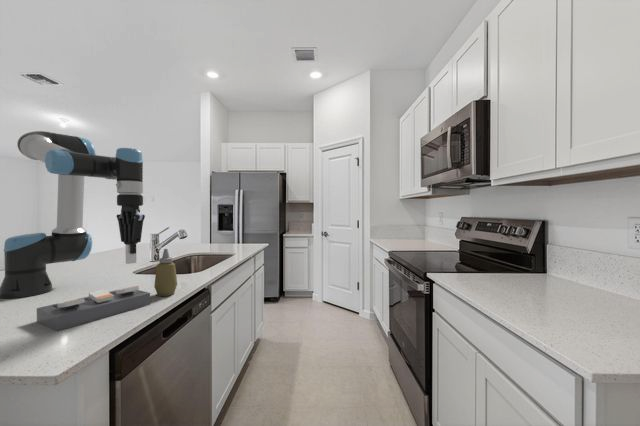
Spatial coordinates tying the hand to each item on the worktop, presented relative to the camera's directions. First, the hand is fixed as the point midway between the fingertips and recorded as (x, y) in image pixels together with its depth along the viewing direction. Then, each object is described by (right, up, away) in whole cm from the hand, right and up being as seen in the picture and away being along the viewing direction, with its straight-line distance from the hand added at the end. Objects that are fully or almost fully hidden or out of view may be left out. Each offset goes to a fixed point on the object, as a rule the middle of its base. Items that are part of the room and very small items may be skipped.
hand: (131, 263), depth 101 cm
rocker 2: (-2, -10, +1) cm, 10 cm away
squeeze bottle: (+4, -15, +15) cm, 22 cm away
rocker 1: (-10, -10, -13) cm, 19 cm away
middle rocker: (-6, -10, -6) cm, 13 cm away
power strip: (-11, -15, -3) cm, 19 cm away
